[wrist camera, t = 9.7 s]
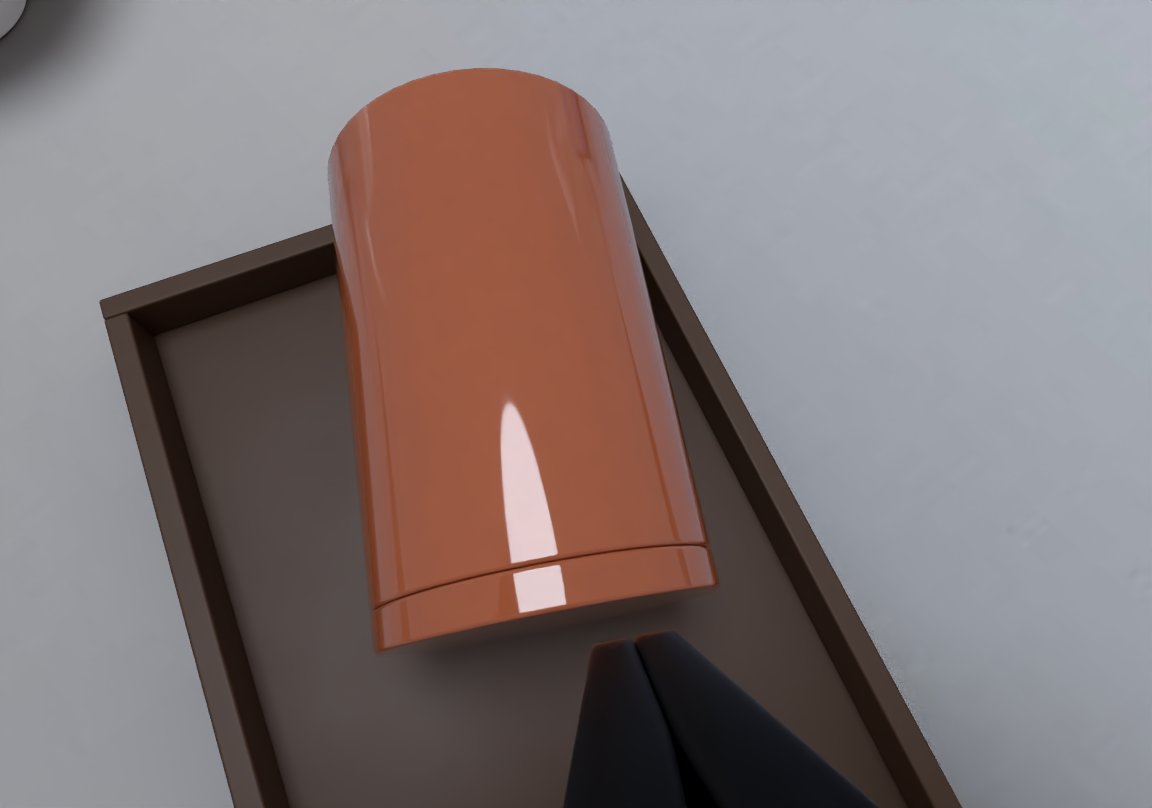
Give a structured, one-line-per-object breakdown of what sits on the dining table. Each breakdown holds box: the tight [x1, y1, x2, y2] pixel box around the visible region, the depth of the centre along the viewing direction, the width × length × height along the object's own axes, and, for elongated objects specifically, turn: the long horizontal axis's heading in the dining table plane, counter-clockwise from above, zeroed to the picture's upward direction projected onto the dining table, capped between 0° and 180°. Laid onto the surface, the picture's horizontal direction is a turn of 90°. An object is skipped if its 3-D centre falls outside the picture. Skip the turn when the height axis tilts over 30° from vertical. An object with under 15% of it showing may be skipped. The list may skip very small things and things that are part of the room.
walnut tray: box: [100, 173, 962, 808], centre depth 18 cm, size 21×14×2 cm
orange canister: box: [328, 68, 720, 657], centre depth 17 cm, size 7×7×11 cm
